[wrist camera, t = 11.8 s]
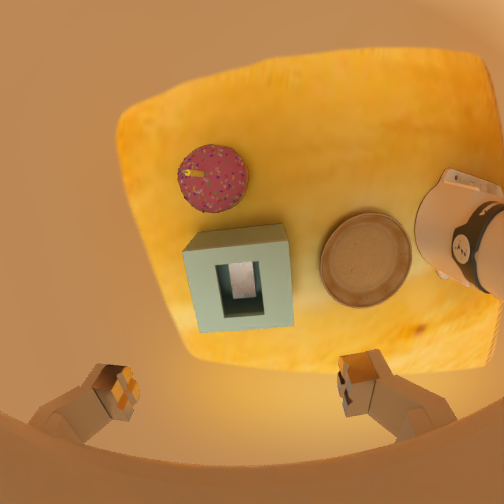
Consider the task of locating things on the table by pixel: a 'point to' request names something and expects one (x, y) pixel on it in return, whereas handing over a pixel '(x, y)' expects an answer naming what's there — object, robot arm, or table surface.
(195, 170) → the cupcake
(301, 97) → the table surface
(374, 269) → the plant saucer
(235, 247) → the coin box
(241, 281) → the block
